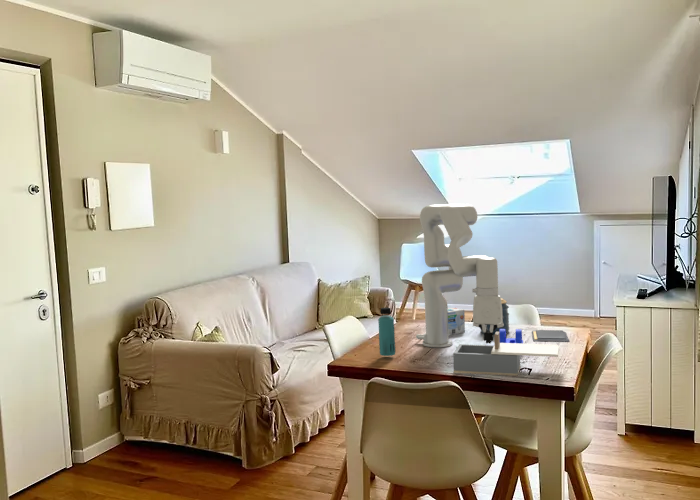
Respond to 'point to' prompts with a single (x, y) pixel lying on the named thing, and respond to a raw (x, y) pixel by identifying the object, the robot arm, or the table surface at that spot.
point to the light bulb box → (456, 321)
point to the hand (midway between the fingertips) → (488, 342)
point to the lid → (523, 348)
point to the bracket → (511, 340)
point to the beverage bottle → (386, 333)
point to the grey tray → (484, 361)
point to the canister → (505, 318)
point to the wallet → (549, 336)
